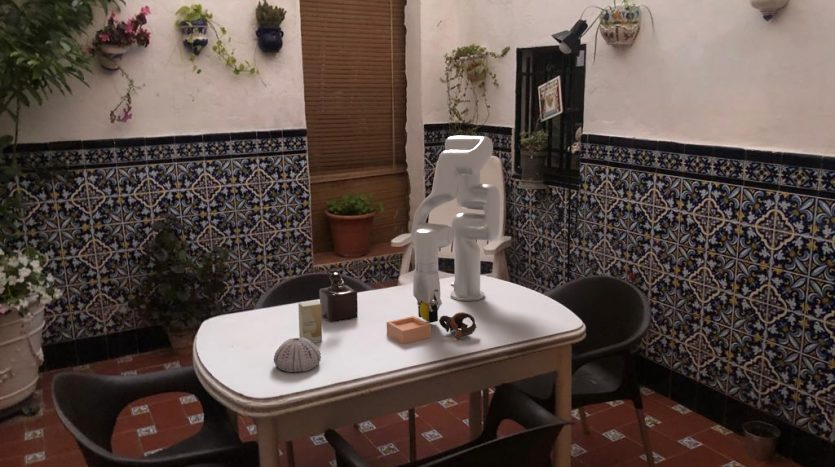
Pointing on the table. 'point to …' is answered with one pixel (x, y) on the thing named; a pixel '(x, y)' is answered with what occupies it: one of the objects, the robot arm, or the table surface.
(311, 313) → the skincare box
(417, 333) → the orange square tray
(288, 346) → the sea urchin shell
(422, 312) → the lemon
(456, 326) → the pottery mug
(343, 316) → the dark square decanter
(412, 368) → the table surface
